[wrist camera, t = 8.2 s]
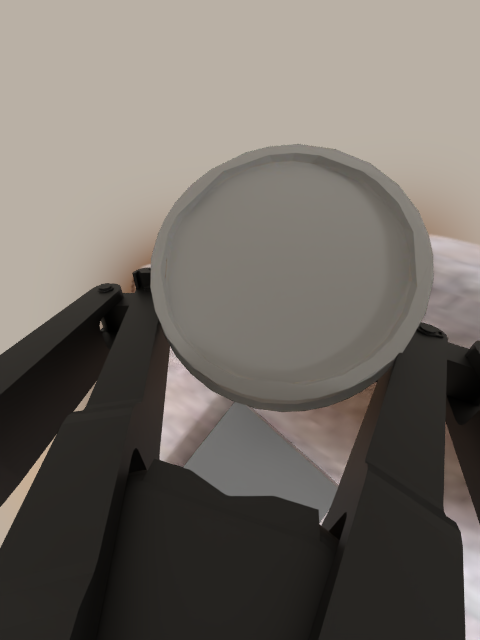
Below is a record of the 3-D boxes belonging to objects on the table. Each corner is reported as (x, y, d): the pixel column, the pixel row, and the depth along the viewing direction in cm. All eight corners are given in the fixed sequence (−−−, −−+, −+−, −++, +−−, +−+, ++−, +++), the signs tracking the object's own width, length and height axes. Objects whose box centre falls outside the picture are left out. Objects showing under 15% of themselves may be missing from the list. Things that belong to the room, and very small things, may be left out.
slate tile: (239, 396, 27) (237, 398, 26) (337, 483, 24) (341, 491, 23) (164, 491, 26) (158, 498, 25) (257, 596, 23) (256, 612, 21)
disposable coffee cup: (311, 260, 19) (369, 96, 8) (353, 368, 17) (530, 365, 5) (208, 293, 20) (119, 186, 8) (235, 400, 18) (162, 458, 6)
